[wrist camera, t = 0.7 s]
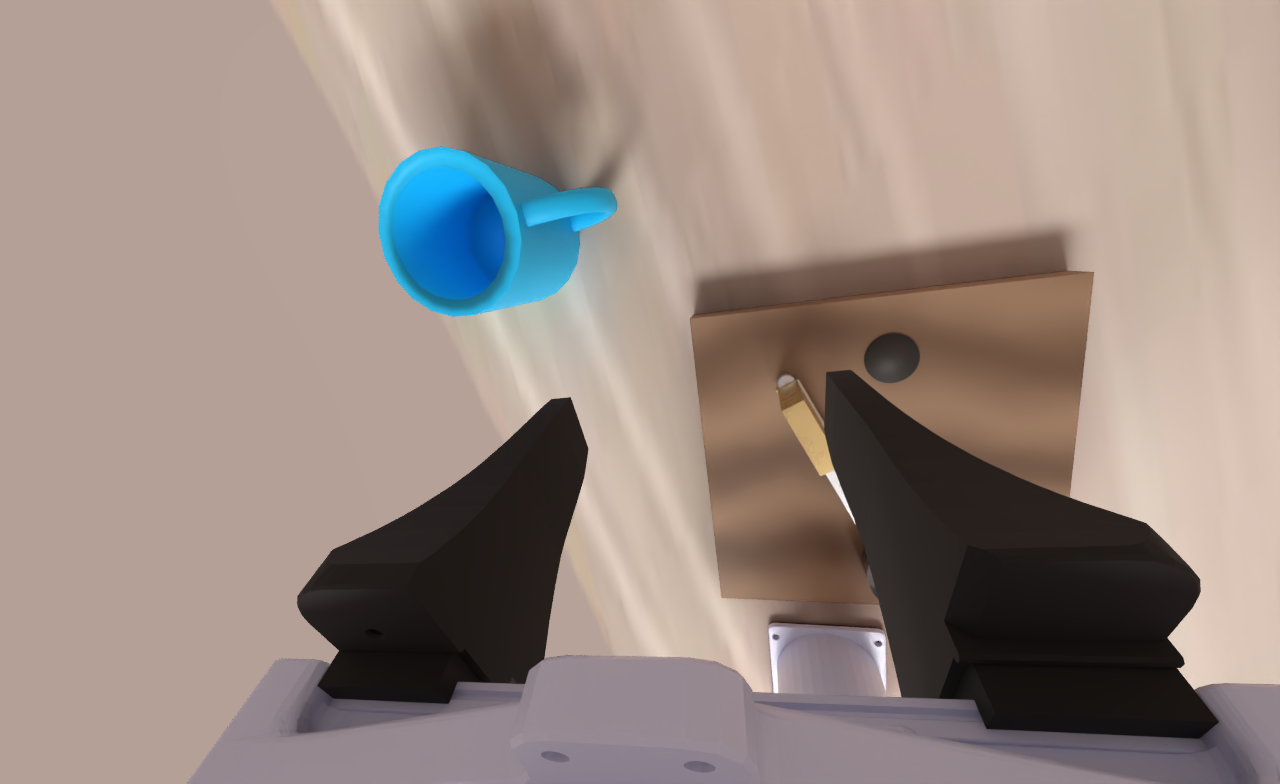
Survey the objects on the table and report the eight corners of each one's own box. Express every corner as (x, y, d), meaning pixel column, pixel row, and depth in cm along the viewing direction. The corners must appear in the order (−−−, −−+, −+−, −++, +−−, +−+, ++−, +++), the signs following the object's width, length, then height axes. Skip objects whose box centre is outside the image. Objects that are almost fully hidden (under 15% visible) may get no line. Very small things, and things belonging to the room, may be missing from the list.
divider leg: (935, 573, 28) (968, 633, 24) (877, 592, 30) (899, 652, 25) (810, 358, 27) (822, 379, 22) (754, 388, 28) (754, 413, 23)
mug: (491, 313, 33) (412, 331, 25) (451, 195, 31) (354, 177, 24) (649, 270, 30) (612, 276, 22) (615, 135, 28) (563, 90, 20)
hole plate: (1037, 589, 29) (1058, 613, 28) (723, 579, 35) (721, 598, 33) (1067, 270, 24) (1095, 272, 22) (693, 314, 30) (689, 319, 28)
